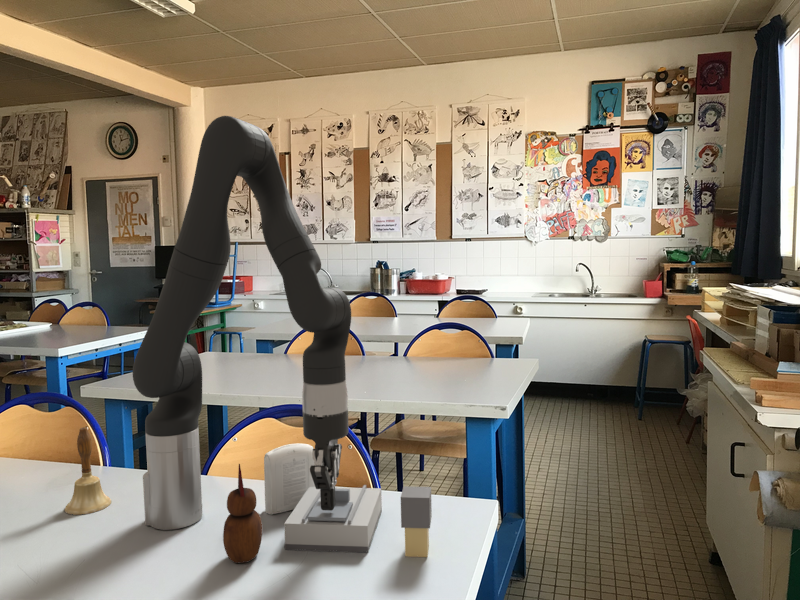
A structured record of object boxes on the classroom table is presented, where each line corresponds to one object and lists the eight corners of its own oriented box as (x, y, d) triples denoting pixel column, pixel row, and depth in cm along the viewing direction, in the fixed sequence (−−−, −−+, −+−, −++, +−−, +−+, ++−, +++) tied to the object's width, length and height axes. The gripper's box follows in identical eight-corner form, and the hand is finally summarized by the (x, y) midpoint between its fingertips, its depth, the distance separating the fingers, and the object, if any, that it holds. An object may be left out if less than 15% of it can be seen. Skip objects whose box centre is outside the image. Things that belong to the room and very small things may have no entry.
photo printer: (310, 497, 122) (308, 437, 121) (319, 504, 118) (318, 442, 118) (262, 509, 116) (259, 447, 116) (270, 517, 113) (267, 453, 112)
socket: (285, 549, 100) (284, 520, 100) (310, 509, 116) (309, 483, 116) (368, 552, 99) (367, 522, 98) (381, 511, 114) (381, 485, 114)
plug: (401, 557, 97) (400, 497, 96) (404, 544, 101) (403, 486, 101) (430, 558, 96) (429, 497, 95) (432, 545, 101) (431, 486, 100)
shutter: (307, 520, 100) (307, 505, 100) (318, 502, 108) (318, 488, 107) (345, 521, 99) (345, 506, 99) (353, 503, 107) (353, 488, 107)
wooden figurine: (232, 547, 101) (229, 460, 100) (266, 547, 101) (263, 460, 100) (219, 568, 95) (215, 475, 93) (255, 568, 94) (252, 474, 93)
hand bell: (114, 507, 119) (110, 428, 118) (67, 518, 114) (62, 436, 113) (107, 494, 126) (103, 419, 125) (62, 504, 121) (57, 426, 120)
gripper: (313, 398, 107) (316, 492, 108) (291, 417, 94) (295, 525, 95) (355, 398, 106) (357, 493, 108) (338, 418, 93) (341, 526, 94)
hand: (328, 508), depth 101 cm, fingers closed
